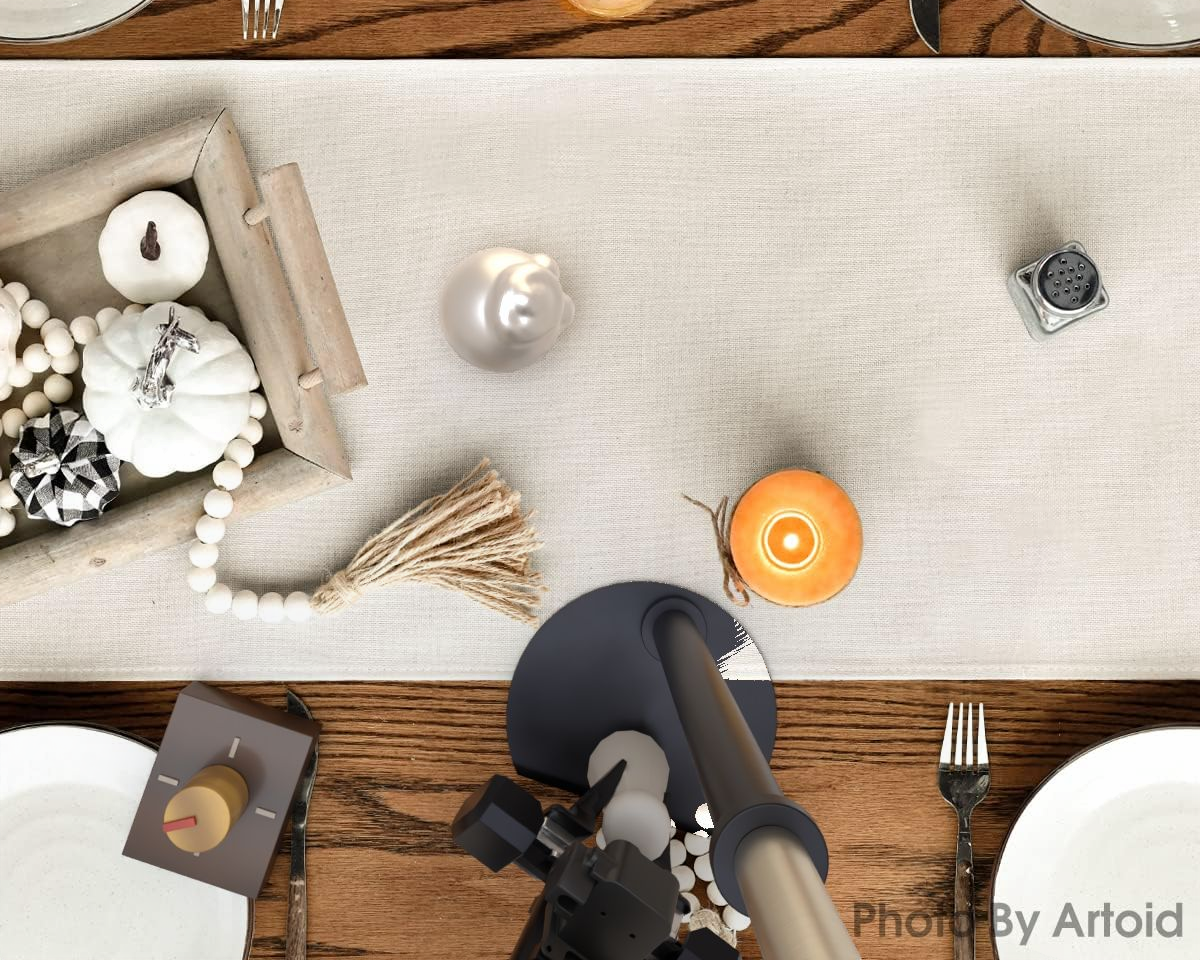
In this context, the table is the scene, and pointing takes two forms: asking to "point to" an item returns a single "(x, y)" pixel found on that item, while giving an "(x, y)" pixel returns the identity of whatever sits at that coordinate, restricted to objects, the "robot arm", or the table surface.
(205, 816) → the knob
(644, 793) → the salt shaker
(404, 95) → the table surface
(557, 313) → the ghost figurine
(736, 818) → the round base pole stand
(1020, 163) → the table surface
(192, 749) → the panel
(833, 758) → the table surface
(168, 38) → the table surface
